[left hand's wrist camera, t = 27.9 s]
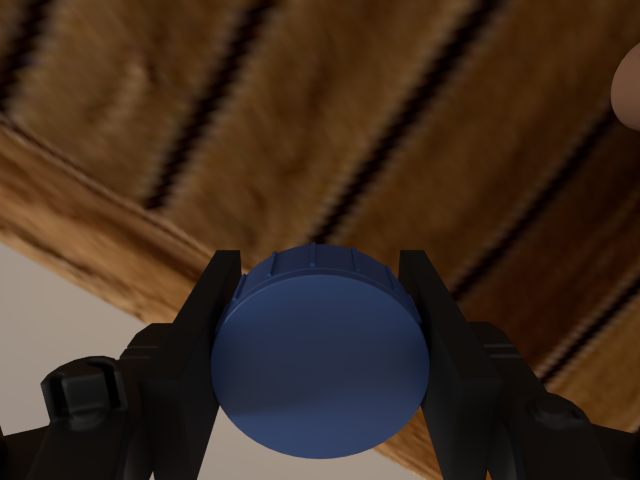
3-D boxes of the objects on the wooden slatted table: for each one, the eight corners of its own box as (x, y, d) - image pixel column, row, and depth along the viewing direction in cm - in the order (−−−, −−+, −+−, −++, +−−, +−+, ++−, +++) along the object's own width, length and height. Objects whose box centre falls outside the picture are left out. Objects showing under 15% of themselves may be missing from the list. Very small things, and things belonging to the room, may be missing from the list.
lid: (193, 360, 12) (172, 407, 11) (281, 205, 11) (273, 230, 9) (351, 433, 13) (356, 488, 12) (453, 300, 12) (478, 340, 10)
